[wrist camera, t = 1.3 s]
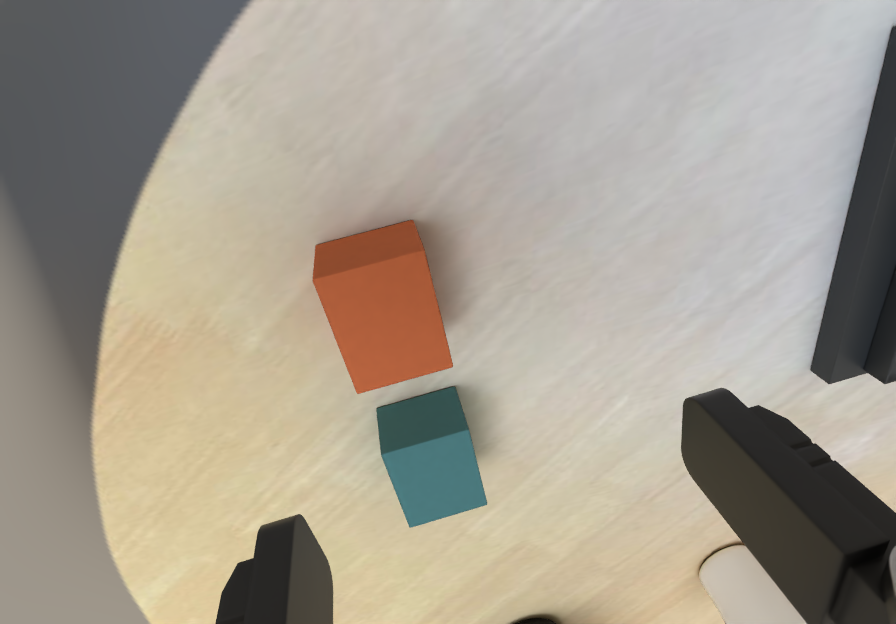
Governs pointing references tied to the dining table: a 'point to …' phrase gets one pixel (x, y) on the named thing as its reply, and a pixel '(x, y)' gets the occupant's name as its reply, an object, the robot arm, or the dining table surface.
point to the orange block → (382, 306)
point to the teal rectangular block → (430, 456)
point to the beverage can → (537, 621)
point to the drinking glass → (745, 589)
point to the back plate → (866, 257)
